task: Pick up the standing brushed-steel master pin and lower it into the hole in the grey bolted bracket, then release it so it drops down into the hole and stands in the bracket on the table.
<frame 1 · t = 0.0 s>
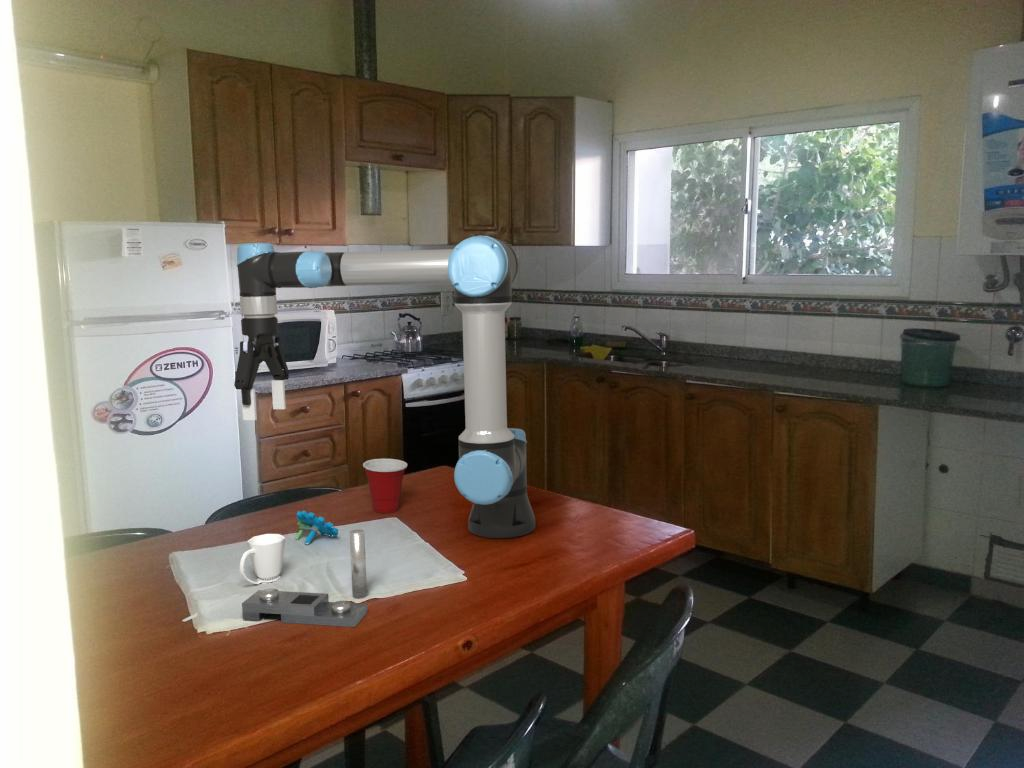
hand: (265, 414, 181), 28 cm above the table, fingers open, 13 cm apart
cup: (263, 583, 159), on the table
butter knife: (183, 625, 141), on the table
master pin: (359, 595, 151), on the table
grey bolted bracket: (305, 616, 142), on the table
plastic cup: (387, 511, 205), on the table
gear: (316, 541, 183), on the table
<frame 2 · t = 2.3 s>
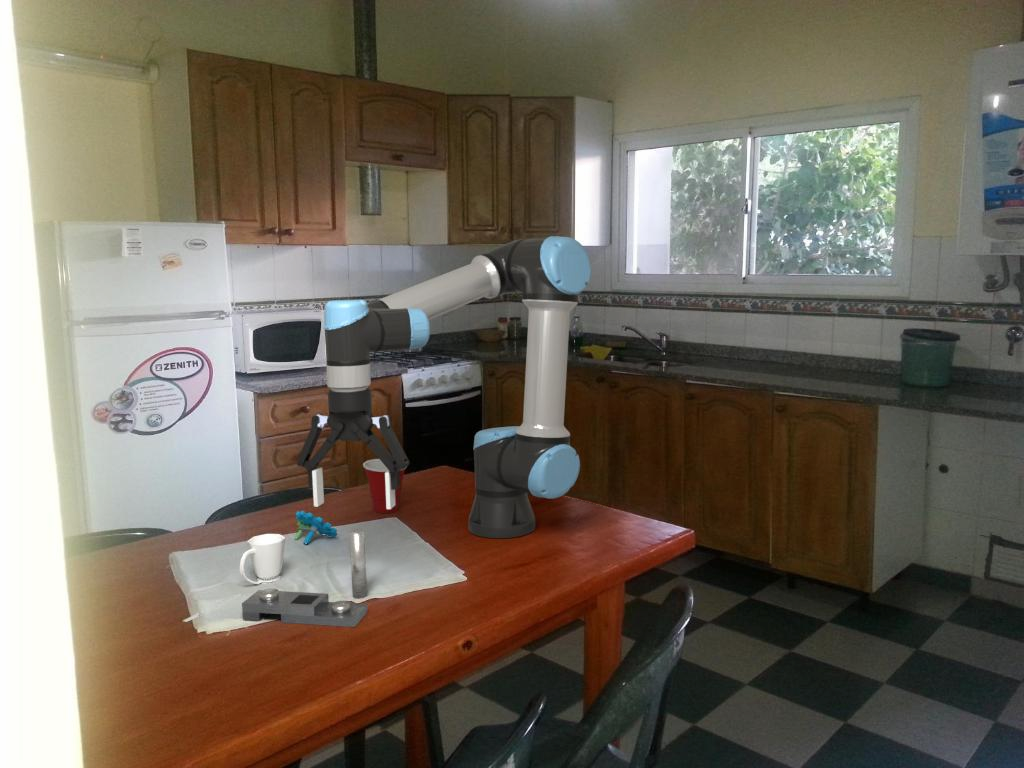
hand: (354, 506, 149), 17 cm above the table, fingers open, 13 cm apart
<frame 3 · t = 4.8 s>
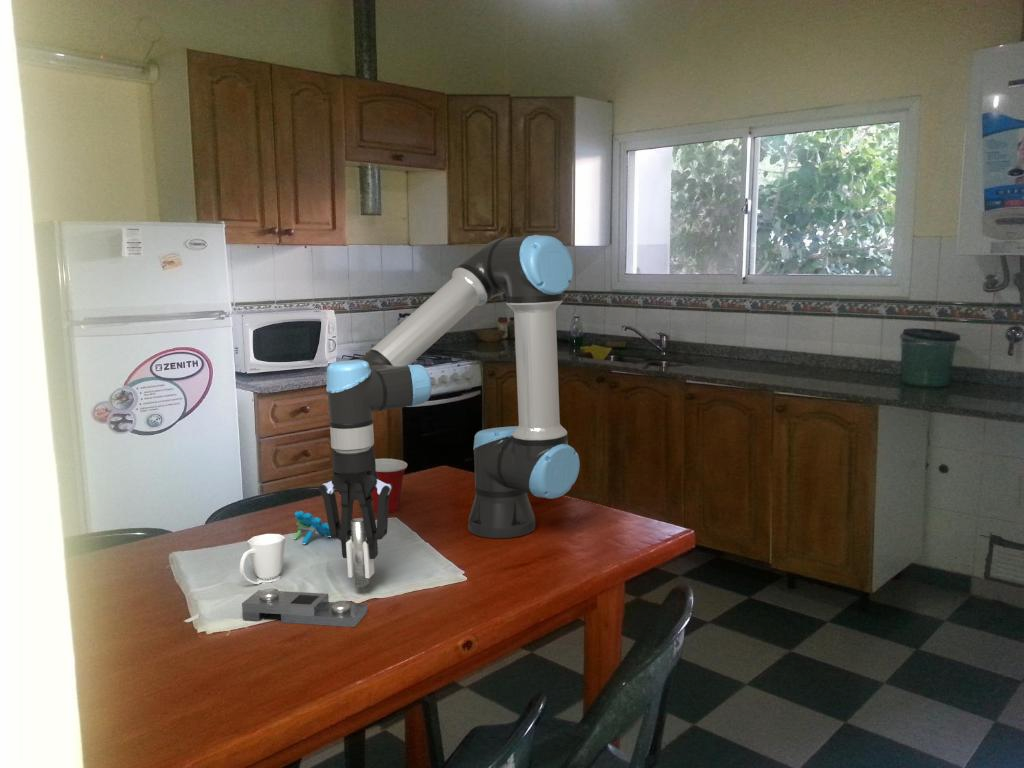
hand: (361, 574, 151), 4 cm above the table, fingers closed on master pin, 2 cm apart
master pin: (362, 583, 151), point 2 cm above the table, touching gripper
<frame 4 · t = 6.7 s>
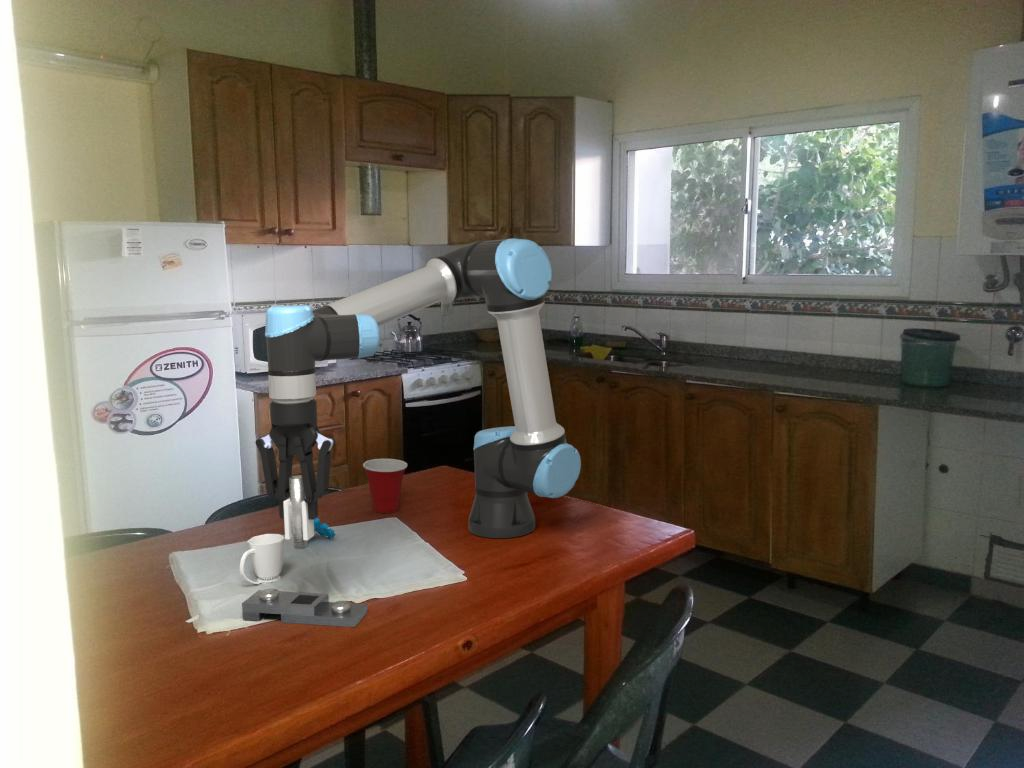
hand: (299, 537, 140), 14 cm above the table, fingers closed on master pin, 2 cm apart
master pin: (300, 546, 140), point 12 cm above the table, touching gripper
everything else where it was.
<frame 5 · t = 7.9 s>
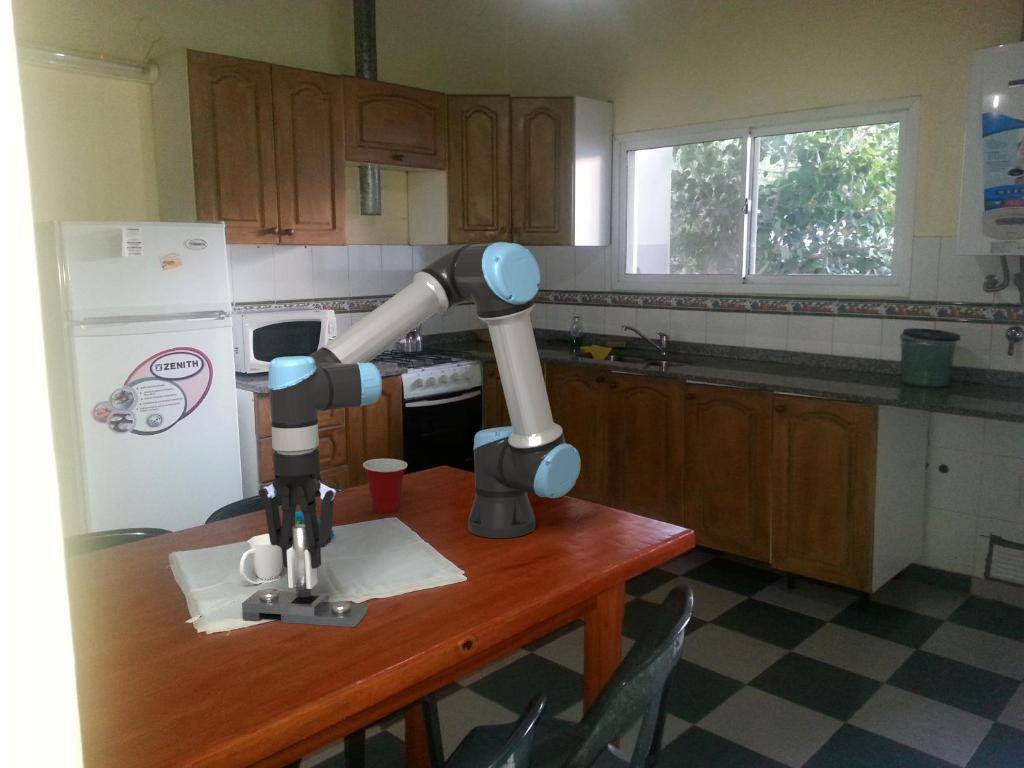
hand: (303, 585, 141), 6 cm above the table, fingers closed on master pin, 2 cm apart
master pin: (303, 594, 142), point 4 cm above the table, touching gripper
when the fingers open (4 cm above the table, at t = 9.0 s): master pin drops 2 cm, resting in grey bolted bracket.
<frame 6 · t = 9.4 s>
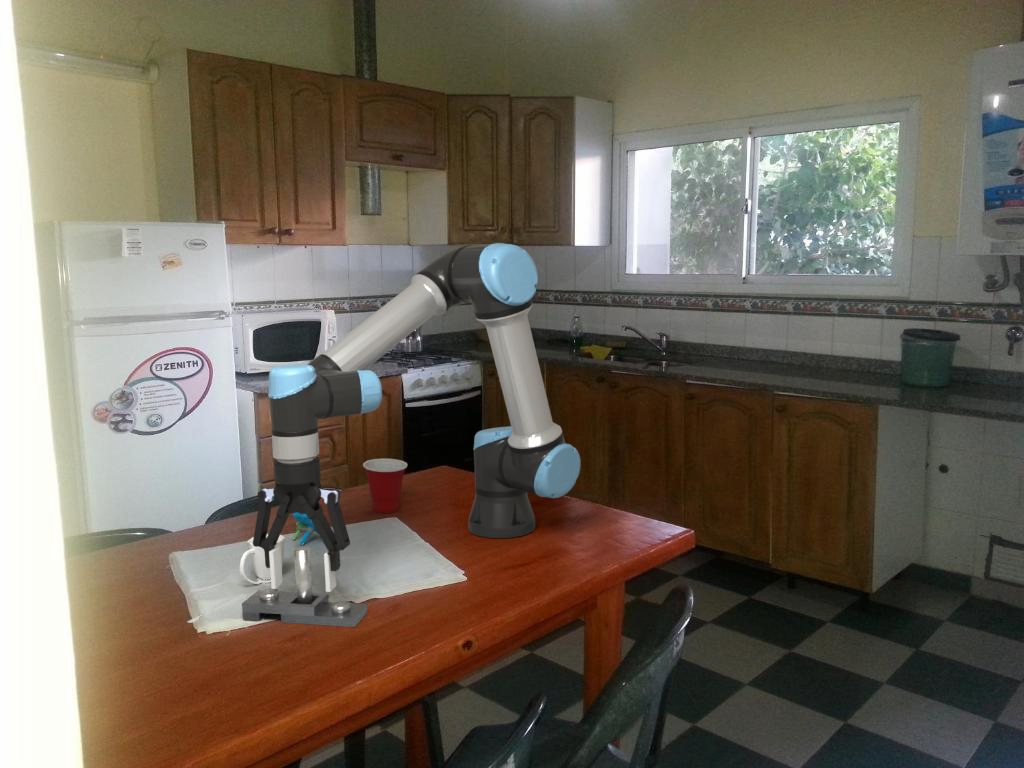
hand: (303, 587, 142), 5 cm above the table, fingers open, 9 cm apart
master pin: (305, 616, 142), resting in grey bolted bracket
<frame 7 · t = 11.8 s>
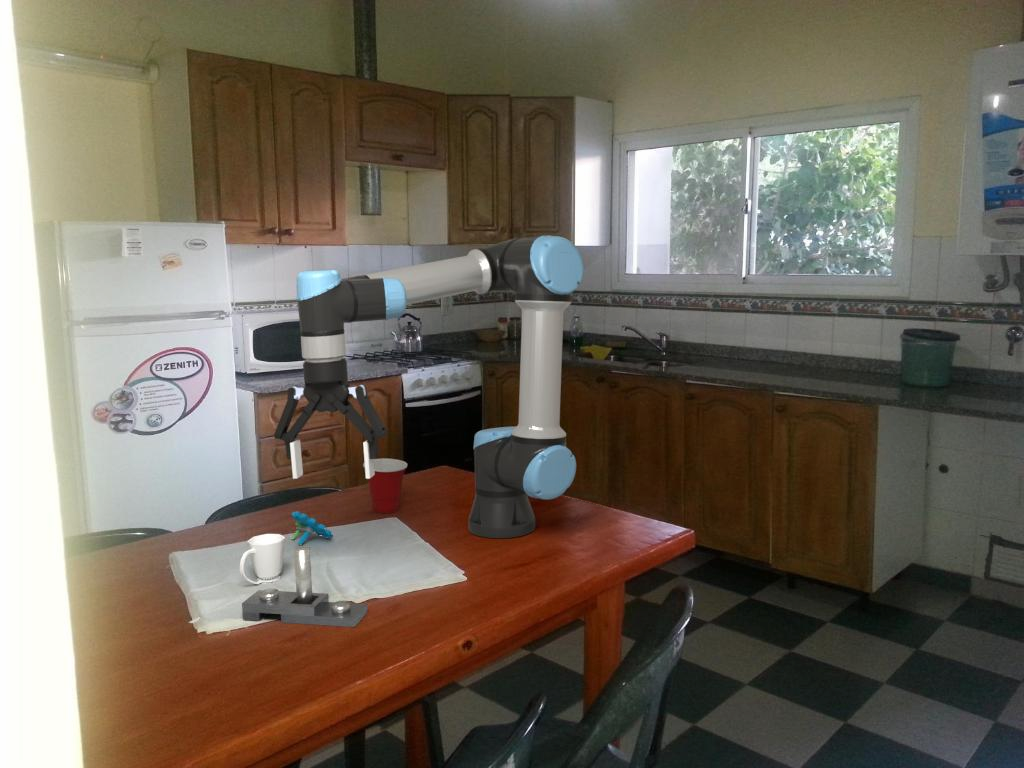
hand: (333, 476, 149), 22 cm above the table, fingers open, 13 cm apart
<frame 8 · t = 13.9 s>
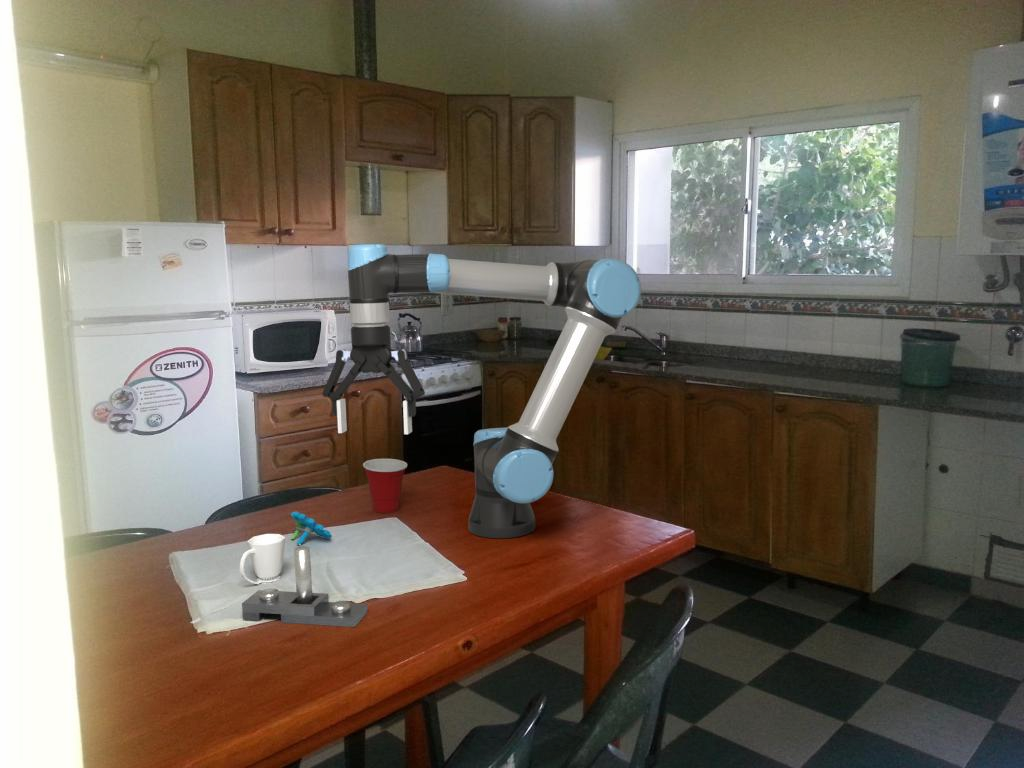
hand: (375, 432, 164), 27 cm above the table, fingers open, 13 cm apart
at the end: master pin 0.0 cm off-centre on the grey bolted bracket, point 0.0 cm above the grey bolted bracket's base; master pin tilted 0°; the gripper is holding nothing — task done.
